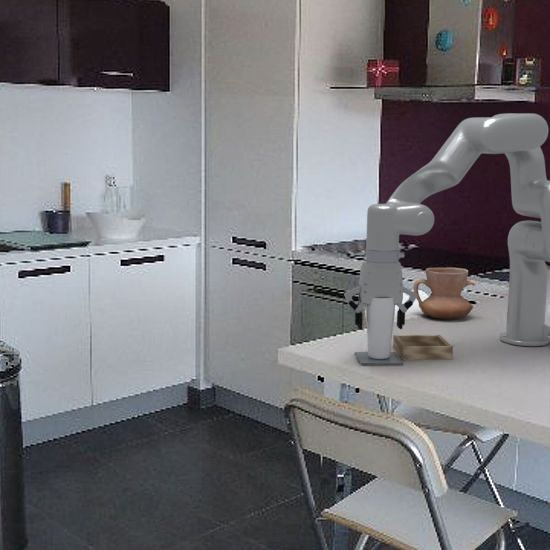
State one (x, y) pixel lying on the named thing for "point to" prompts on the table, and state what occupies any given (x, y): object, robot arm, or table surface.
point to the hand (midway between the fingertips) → (379, 327)
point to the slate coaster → (368, 361)
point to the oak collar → (422, 347)
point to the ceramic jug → (445, 293)
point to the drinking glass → (380, 327)
